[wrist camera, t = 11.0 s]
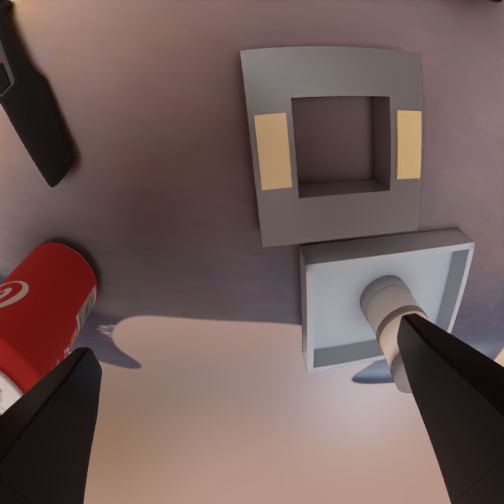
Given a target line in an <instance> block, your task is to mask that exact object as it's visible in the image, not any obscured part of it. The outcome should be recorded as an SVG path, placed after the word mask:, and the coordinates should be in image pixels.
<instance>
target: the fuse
mask: <svg viewBox="0 0 504 504" xmlns="http://www.w3.org/2000/svg"><path fill="white" fill-rule="evenodd" d="M360 308H361V310H362V312H363V314H364V316H365V318H366V320H367V322H368V323H369V324H370V326H371V328H372V330H373V332H374V334H375V336H376V340H377V342H378V344H379V346H380V348H381V349H382V351H383V353H384V355H385V357H386V360H387V362H388V364H389V366H390V372H391V374H392V377H393V379H394V381H395V384H396V386H397V388H398V390H400V391H401V392H404V393H412V391H411V388H410V385H409V382H408V378H407V375H406V371H405V368H404V364H403V361H402V357H401V354H400V351H399V348H398V344H397V334H398V329H399V325H400V320H401V317H402V316H403V315H406V314H411V313H416V314H418V315H420V316H422V317H423V318H425V319H427V320H428V321H429V319H428V317H427V315H426V313H425V312H424V311H423V309H422V308H421V307H420V306H419V305H418V303H417V302H416V300H415V299H414V297H413V296H412V294H411V291H410V290H409V288H408V287H407V285H406V284H405V283H404V281H403V280H402V279H401V278H399V277H397V276H394V275H385V276H382V277H379V278H377V279H375V280H373V281H372V282H371V283H370V284H368V285H367V287H366V288H365V289H364V291H363V292H362V294H361V297H360Z"/></svg>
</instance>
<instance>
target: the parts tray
mask: <svg viewBox="0 0 504 504" xmlns="http://www.w3.org/2000/svg"><path fill="white" fill-rule="evenodd" d="M474 247H475V241H474V240H472V239H471V238H470V237H469V236H467V235H466V234H465V233H464V232H463V231H461V230H460V229H459V228H452V229H443V230H435V231H426V232H417V233H409V234H400V235H391V236H383V237H374V238H366V239H357V240H348V241H340V242H331V243H322V244H314V245H305V246H299V254H300V279H301V312H302V352H303V357H304V361H305V366H306V371H307V373H310V372H317V371H323V370H329V369H335V368H340V367H346V366H351V365H356V364H362V363H367V362H372V361H377V360H381V359H386V357H385V355H384V353H383V351H382V349H381V348H380V346H379V344H378V342H377V340H376V336H375V334H374V332H373V330H372V328H371V326H370V324H369V323H368V322H367V320H366V318H365V316H364V314H363V312H362V310H361V308H360V297H361V294H362V292H363V291H364V289H365V288H366V287H367V285H368V284H370V283H371V282H372V281H373V280H375V279H377V278H379V277H382V276H385V275H394V276H397V277H399V278H401V279H402V280H403V281H404V283H405V284H406V285H407V287H408V288H409V290H410V291H411V294H412V296H413V297H414V299H415V300H416V302H417V303H418V305H419V306H420V307H421V308H422V309H423V311H424V312H425V313H426V315H427V317H428V319H429V321H430V322H432V323H433V324H435V325H437V326H438V327H440V328H442V329H443V330H445V331H447V332H448V333H450V334H451V331H452V328H453V325H454V322H455V319H456V315H457V312H458V309H459V306H460V302H461V299H462V295H463V292H464V288H465V285H466V281H467V277H468V273H469V269H470V265H471V260H472V256H473V251H474Z"/></svg>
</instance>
